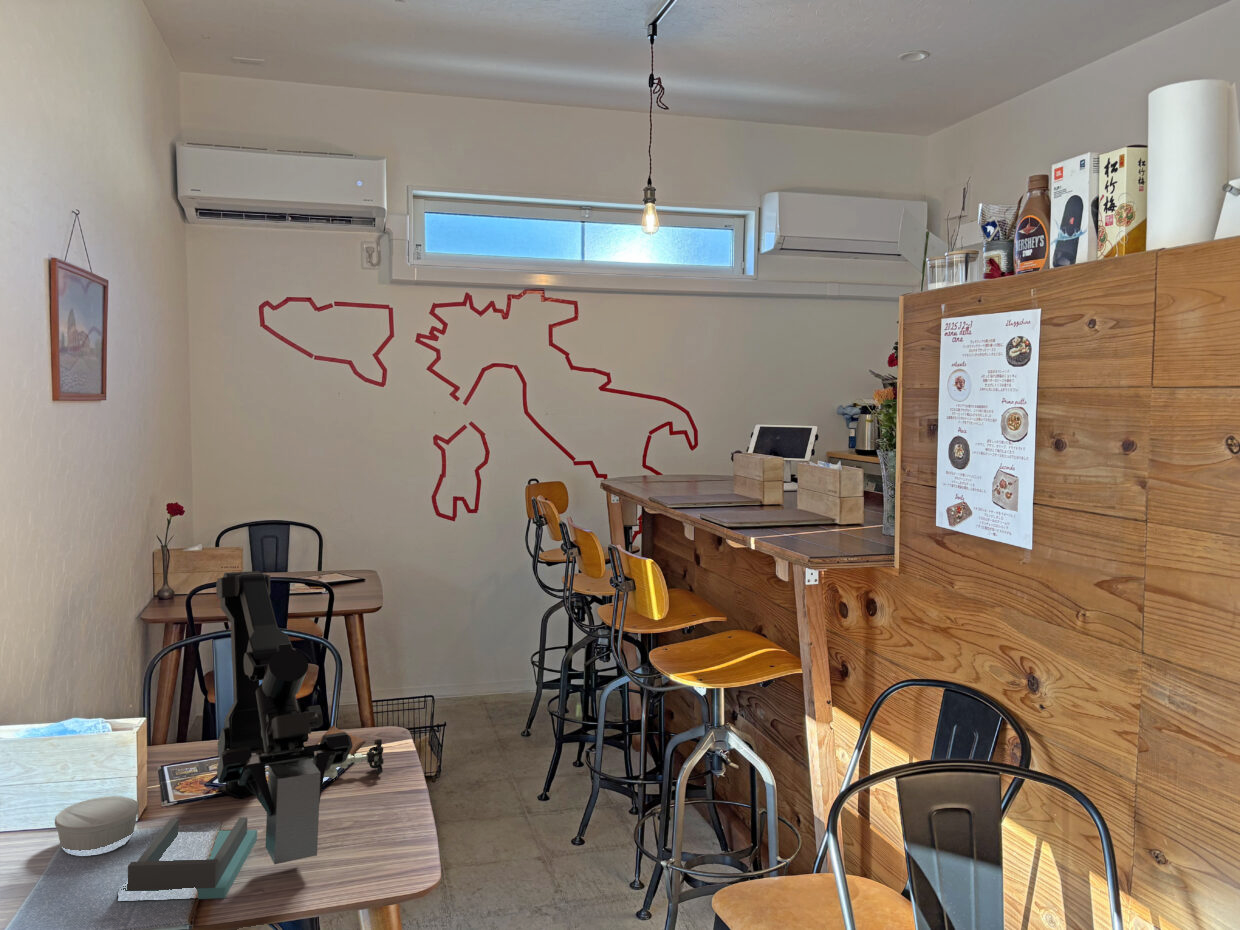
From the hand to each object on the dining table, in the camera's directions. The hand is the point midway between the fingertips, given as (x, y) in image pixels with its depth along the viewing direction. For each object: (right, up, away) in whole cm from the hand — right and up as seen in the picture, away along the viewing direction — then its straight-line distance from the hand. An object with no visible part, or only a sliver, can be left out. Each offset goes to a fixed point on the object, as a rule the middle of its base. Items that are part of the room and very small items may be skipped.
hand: (294, 810), depth 131 cm
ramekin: (-34, -8, +8) cm, 35 cm away
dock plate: (-16, -9, +1) cm, 18 cm away
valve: (-4, -8, +38) cm, 39 cm away
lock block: (-1, -7, +2) cm, 7 cm away
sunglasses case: (-9, -8, +48) cm, 49 cm away
